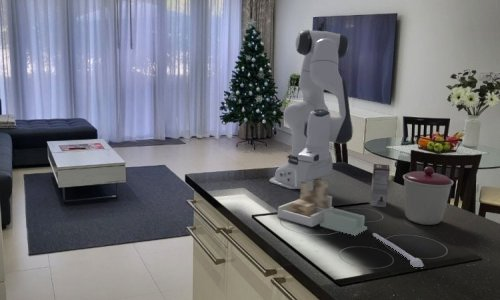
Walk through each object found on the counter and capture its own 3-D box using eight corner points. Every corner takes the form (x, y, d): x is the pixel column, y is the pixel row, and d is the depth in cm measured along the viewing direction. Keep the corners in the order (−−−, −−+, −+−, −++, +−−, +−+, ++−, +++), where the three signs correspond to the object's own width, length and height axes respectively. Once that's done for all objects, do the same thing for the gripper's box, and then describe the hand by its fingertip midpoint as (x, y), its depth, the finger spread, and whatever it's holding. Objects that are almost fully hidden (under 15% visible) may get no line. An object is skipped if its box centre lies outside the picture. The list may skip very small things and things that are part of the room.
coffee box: (369, 199, 219) (373, 163, 216) (385, 201, 218) (388, 164, 215) (370, 205, 210) (374, 168, 207) (386, 207, 209) (390, 169, 206)
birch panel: (298, 211, 198) (301, 176, 195) (301, 210, 200) (304, 175, 197) (323, 218, 192) (326, 182, 189) (326, 217, 193) (328, 181, 190)
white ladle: (365, 236, 176) (366, 228, 175) (375, 235, 177) (376, 227, 177) (413, 270, 150) (414, 261, 149) (425, 269, 151) (426, 260, 150)
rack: (277, 217, 190) (278, 196, 189) (299, 208, 202) (300, 188, 200) (311, 227, 181) (313, 205, 180) (332, 217, 193) (334, 197, 191)
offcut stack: (290, 218, 190) (291, 202, 189) (299, 214, 195) (300, 199, 193) (306, 223, 186) (307, 207, 184) (315, 219, 190) (316, 203, 189)
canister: (388, 215, 199) (394, 162, 195) (424, 211, 206) (430, 160, 202) (420, 231, 183) (427, 174, 179) (458, 226, 190) (466, 171, 186)
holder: (320, 226, 183) (321, 212, 182) (332, 220, 190) (333, 207, 189) (355, 236, 174) (356, 222, 173) (367, 229, 181) (368, 216, 180)
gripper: (323, 148, 201) (321, 182, 204) (295, 155, 185) (292, 192, 188) (337, 151, 197) (334, 185, 200) (310, 158, 181) (307, 195, 184)
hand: (314, 188), depth 194 cm, fingers open, 3 cm apart
